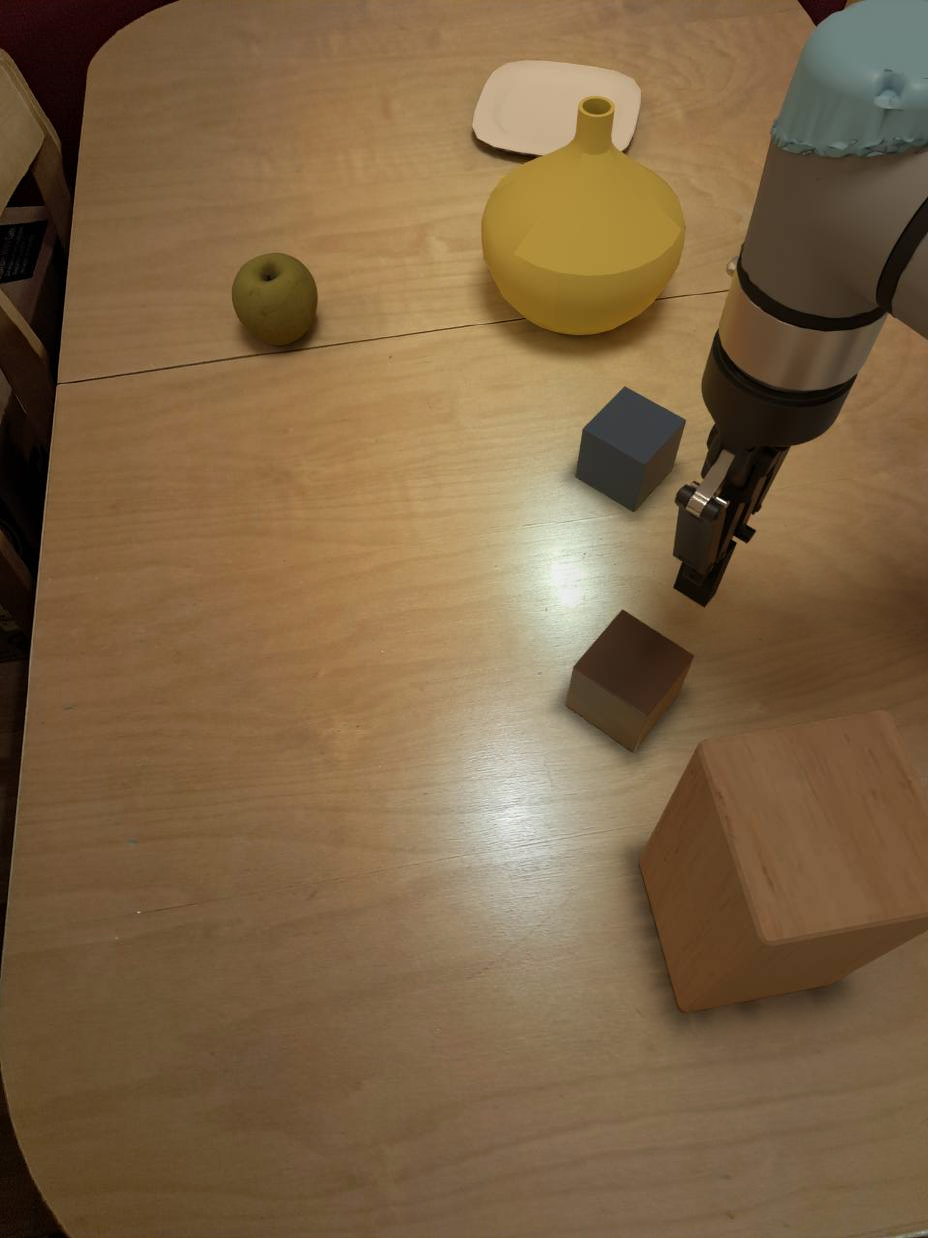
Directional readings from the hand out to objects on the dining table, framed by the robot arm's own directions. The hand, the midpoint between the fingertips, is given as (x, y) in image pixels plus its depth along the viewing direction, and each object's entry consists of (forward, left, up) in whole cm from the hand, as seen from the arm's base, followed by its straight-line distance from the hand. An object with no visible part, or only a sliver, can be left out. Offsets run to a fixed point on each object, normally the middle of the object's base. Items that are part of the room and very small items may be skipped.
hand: (694, 590), depth 69 cm
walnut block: (0, +8, -5) cm, 10 cm away
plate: (+47, -48, -5) cm, 67 cm away
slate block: (+12, -10, -5) cm, 16 cm away
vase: (+28, -25, -5) cm, 38 cm away
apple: (+47, -4, -5) cm, 47 cm away
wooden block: (-15, +17, -5) cm, 23 cm away
